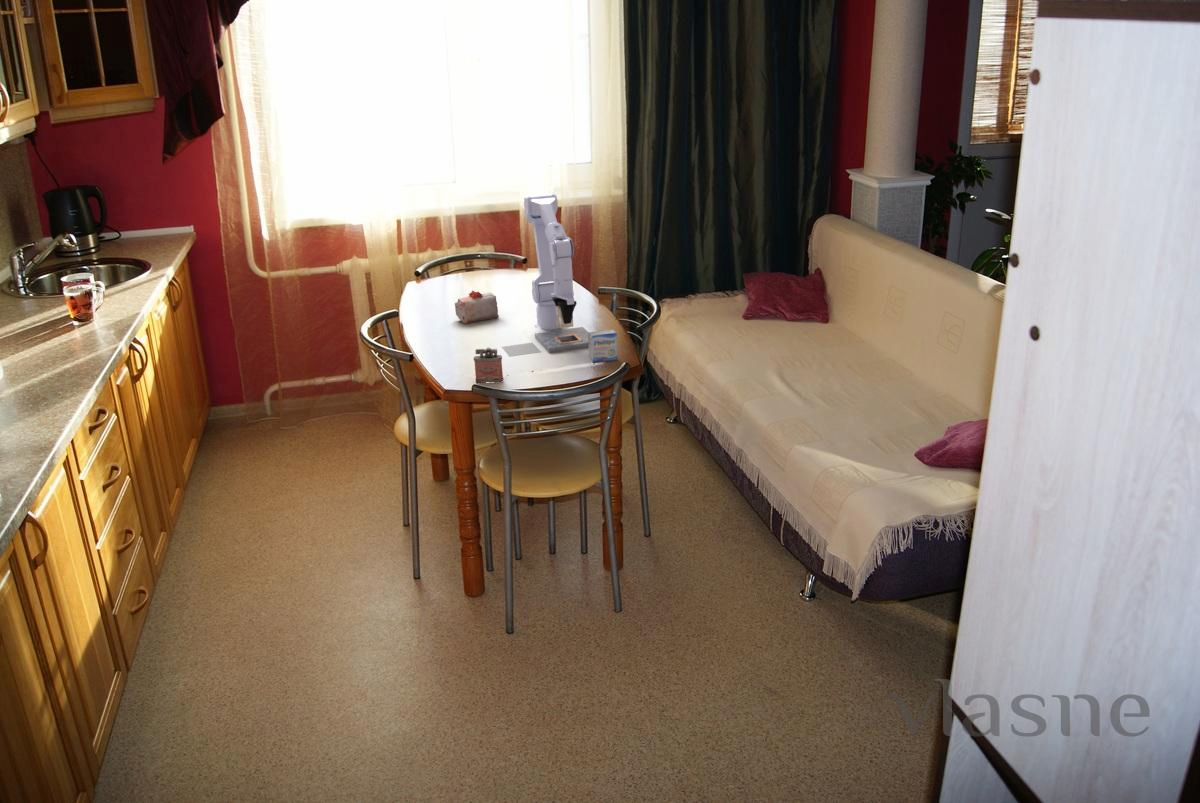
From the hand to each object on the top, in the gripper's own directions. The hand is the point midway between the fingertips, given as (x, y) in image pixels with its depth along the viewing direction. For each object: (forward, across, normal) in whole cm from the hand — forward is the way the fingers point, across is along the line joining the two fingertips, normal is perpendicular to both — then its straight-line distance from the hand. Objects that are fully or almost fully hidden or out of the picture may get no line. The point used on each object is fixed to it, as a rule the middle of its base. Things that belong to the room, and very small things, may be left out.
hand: (565, 321), depth 314 cm
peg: (+1, 0, 0) cm, 1 cm away
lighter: (+9, +20, -29) cm, 37 cm away
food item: (+9, -42, -19) cm, 47 cm away
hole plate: (+8, -2, +1) cm, 9 cm away
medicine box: (+9, +16, +7) cm, 19 cm away
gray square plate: (+8, -1, -14) cm, 17 cm away
